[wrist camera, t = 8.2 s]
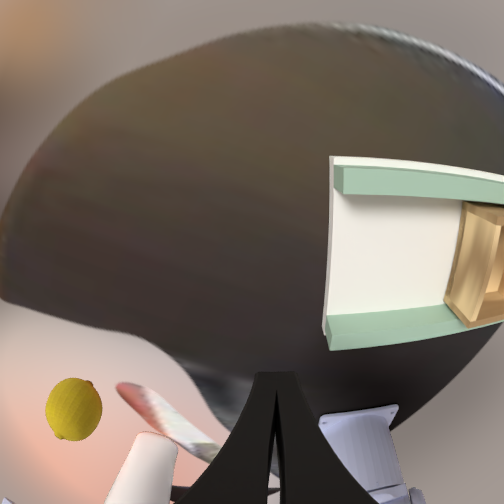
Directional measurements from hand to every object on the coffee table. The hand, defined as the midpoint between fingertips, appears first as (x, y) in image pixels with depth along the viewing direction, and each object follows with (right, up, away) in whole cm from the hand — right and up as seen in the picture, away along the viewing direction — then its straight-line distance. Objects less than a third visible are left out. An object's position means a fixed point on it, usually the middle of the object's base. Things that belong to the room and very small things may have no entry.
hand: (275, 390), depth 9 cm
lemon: (-18, -9, +14) cm, 24 cm away
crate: (+15, +5, +5) cm, 17 cm away
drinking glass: (-12, -18, +17) cm, 28 cm away
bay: (+12, +5, +7) cm, 14 cm away
